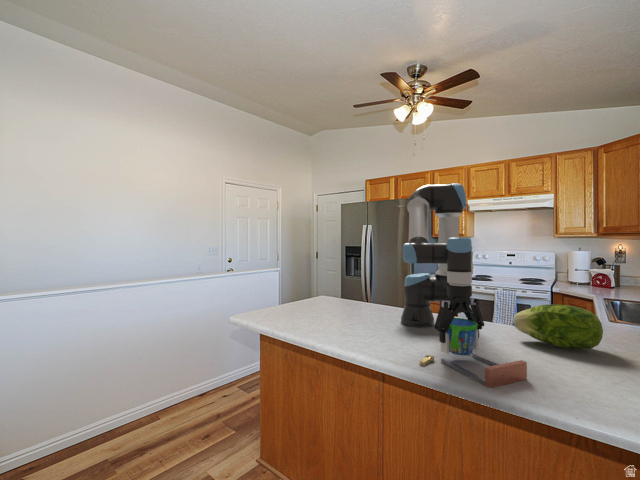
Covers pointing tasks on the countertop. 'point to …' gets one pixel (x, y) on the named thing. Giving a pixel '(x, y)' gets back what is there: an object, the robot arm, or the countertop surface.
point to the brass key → (427, 360)
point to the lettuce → (561, 326)
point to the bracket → (495, 371)
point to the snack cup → (461, 336)
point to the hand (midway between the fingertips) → (459, 350)
